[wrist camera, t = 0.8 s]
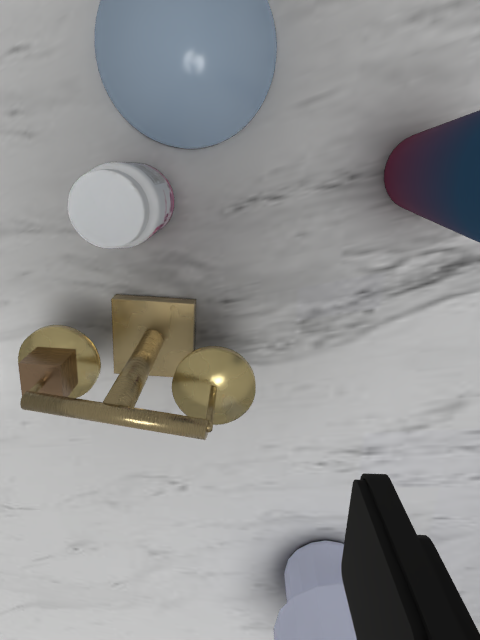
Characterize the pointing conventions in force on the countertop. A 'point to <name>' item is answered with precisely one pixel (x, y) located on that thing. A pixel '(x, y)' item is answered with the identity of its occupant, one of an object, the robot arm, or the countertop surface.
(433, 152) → the cup
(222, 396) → the balance
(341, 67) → the countertop surface
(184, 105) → the saucer
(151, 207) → the pill bottle
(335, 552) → the soap bottle
